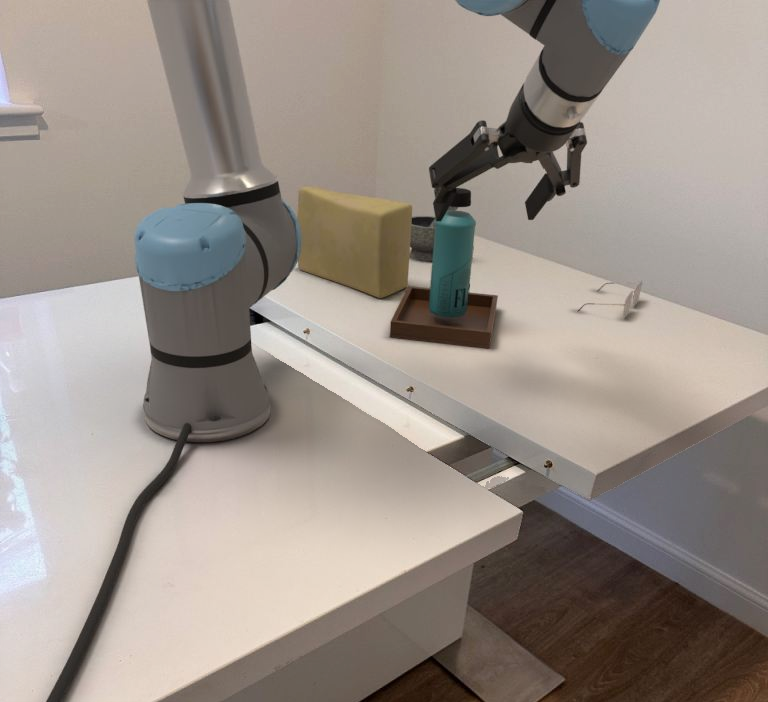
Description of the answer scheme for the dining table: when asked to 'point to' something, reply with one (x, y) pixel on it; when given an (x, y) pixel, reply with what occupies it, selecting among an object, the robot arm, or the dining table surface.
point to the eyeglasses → (628, 298)
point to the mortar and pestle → (423, 236)
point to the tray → (444, 320)
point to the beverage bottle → (452, 259)
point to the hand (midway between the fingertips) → (483, 211)
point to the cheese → (355, 240)
